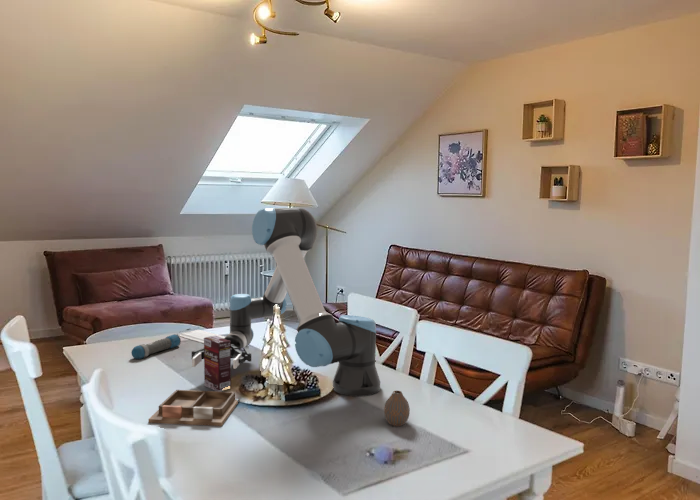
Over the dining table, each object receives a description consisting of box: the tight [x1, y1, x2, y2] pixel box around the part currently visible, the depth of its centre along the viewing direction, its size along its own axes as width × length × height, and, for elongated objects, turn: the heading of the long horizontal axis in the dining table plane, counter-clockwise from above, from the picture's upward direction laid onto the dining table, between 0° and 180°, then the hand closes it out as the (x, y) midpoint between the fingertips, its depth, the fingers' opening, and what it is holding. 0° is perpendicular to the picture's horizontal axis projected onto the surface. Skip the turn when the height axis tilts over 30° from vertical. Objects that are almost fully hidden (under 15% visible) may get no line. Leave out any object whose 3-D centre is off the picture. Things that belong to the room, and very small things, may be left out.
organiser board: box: [147, 389, 239, 427], centre depth 163 cm, size 20×18×4 cm
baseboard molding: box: [178, 327, 226, 344], centre depth 239 cm, size 31×3×12 cm
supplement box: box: [203, 336, 232, 392], centre depth 182 cm, size 9×5×16 cm, turn 45°
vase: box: [383, 390, 411, 427], centre depth 157 cm, size 7×7×9 cm
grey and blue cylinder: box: [130, 333, 181, 360], centre depth 221 cm, size 5×22×5 cm, turn 154°
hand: (213, 363), depth 179 cm, fingers open, 12 cm apart
